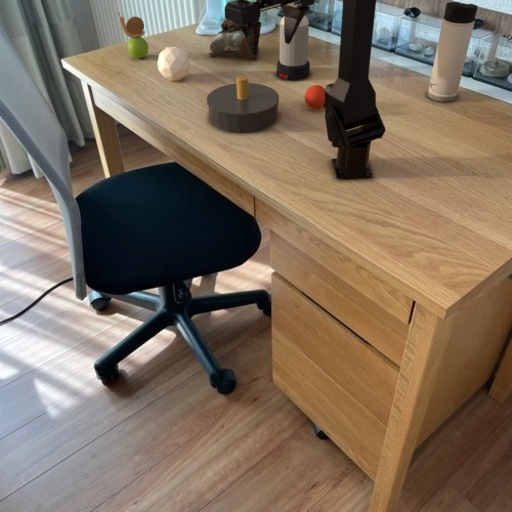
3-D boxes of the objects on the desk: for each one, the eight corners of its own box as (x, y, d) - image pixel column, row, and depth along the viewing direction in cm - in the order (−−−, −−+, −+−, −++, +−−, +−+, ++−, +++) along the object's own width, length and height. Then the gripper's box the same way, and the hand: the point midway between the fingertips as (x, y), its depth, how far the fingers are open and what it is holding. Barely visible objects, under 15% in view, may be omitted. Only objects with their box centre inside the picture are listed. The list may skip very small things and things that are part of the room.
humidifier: (276, 81, 128) (277, -35, 111) (276, 68, 134) (277, -44, 118) (310, 80, 127) (316, -35, 111) (308, 67, 134) (314, -44, 117)
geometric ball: (185, 89, 132) (198, 68, 125) (154, 84, 127) (166, 62, 121) (180, 65, 134) (192, 43, 128) (150, 59, 130) (161, 36, 123)
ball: (328, 112, 115) (330, 90, 111) (305, 113, 114) (306, 91, 111) (325, 102, 118) (326, 80, 115) (303, 103, 118) (303, 81, 115)
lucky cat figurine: (199, 54, 141) (206, -1, 138) (237, 64, 148) (245, 11, 145) (228, 54, 130) (237, -7, 126) (267, 64, 137) (276, 6, 133)
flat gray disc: (282, 117, 106) (282, 92, 103) (206, 120, 106) (204, 95, 102) (276, 86, 118) (276, 62, 114) (207, 89, 117) (205, 65, 114)
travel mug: (424, 99, 118) (443, 4, 105) (431, 88, 123) (450, -5, 110) (452, 105, 116) (475, 8, 103) (458, 93, 121) (481, -1, 107)
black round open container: (280, 131, 108) (280, 114, 106) (209, 134, 108) (207, 117, 106) (274, 100, 119) (274, 84, 117) (210, 103, 119) (208, 86, 117)
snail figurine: (123, 56, 142) (114, 9, 134) (146, 52, 144) (139, 5, 136) (128, 63, 138) (119, 15, 130) (152, 59, 140) (145, 11, 132)
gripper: (278, -53, 105) (277, 28, 116) (203, -37, 96) (209, 50, 106) (318, -44, 99) (314, 41, 109) (242, -26, 90) (245, 65, 100)
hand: (271, 49), depth 106 cm, fingers open, 9 cm apart
